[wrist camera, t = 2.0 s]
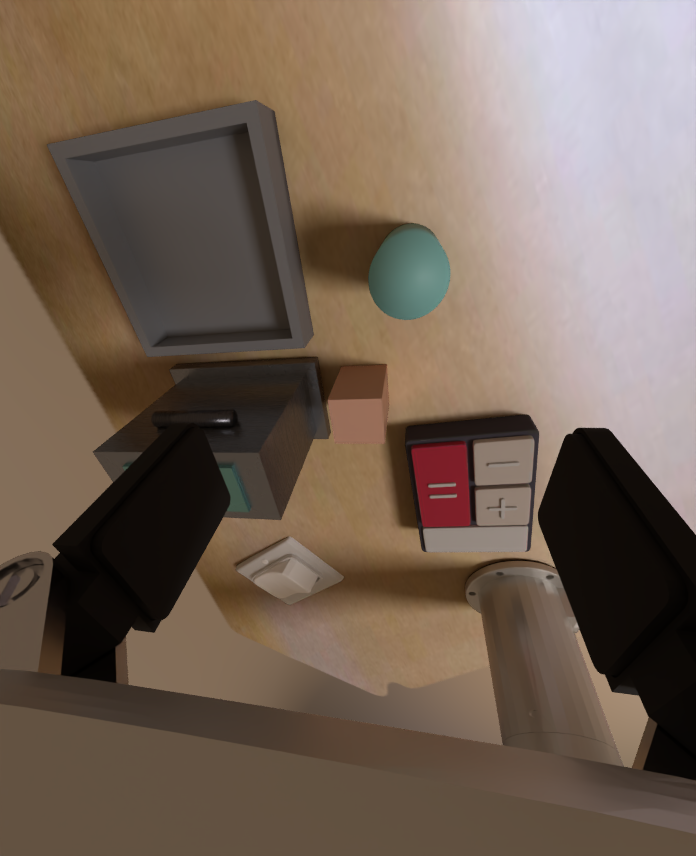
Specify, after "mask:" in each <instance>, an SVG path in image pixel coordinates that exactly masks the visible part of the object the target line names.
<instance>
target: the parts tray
mask: <svg viewBox="0 0 696 856" xmlns="http://www.w3.org/2000/svg"><path fill="white" fill-rule="evenodd" d="M47 146H48V148H49V150H50V153H51V155H52V157H53V159H54V161H55V163H56V165H57V167H58V169H59V172H60V174H61V176H62V178H63V180H64V182H65V184H66V186H67V188H68V191H69V193H70V195H71V197H72V199H73V201H74V203H75V205H76V207H77V210H78V212H79V214H80V216H81V218H82V220H83V222H84V224H85V227H86V229H87V231H88V233H89V235H90V237H91V239H92V241H93V243H94V246H95V248H96V250H97V252H98V254H99V256H100V258H101V260H102V262H103V265H104V267H105V269H106V271H107V273H108V275H109V277H110V279H111V281H112V284H113V286H114V288H115V290H116V292H117V294H118V296H119V298H120V300H121V303H122V305H123V307H124V309H125V311H126V313H127V315H128V317H129V319H130V322H131V324H132V326H133V328H134V330H135V332H136V334H137V336H138V339H139V341H140V343H141V345H142V347H143V349H144V351H145V353H146V355H147V357H155V356H173V355H190V354H208V353H225V352H242V351H260V350H277V349H295V348H305V347H306V345H307V344H308V342H309V341H310V339H311V338H312V337H313V335H314V334H313V328H312V322H311V316H310V311H309V305H308V299H307V294H306V288H305V282H304V277H303V271H302V265H301V260H300V254H299V248H298V243H297V237H296V231H295V225H294V220H293V214H292V208H291V203H290V197H289V191H288V186H287V180H286V174H285V169H284V163H283V157H282V152H281V146H280V140H279V135H278V129H277V123H276V117H275V112H274V111H273V110H271V109H270V108H268V107H267V106H265V105H263V104H262V103H260V102H258V101H257V100H254V101H250V102H245V103H240V104H235V105H231V106H226V107H221V108H217V109H212V110H207V111H202V112H198V113H193V114H188V115H184V116H179V117H174V118H169V119H165V120H160V121H155V122H151V123H146V124H141V125H136V126H132V127H127V128H122V129H117V130H113V131H108V132H103V133H99V134H94V135H89V136H84V137H80V138H75V139H70V140H66V141H61V142H56V143H51V144H47Z"/></svg>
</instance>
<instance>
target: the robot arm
mask: <svg viewBox="0 0 696 856" xmlns="http://www.w3.org/2000/svg"><path fill="white" fill-rule="evenodd" d="M230 500H231V497H230V493H229V491H228V488H227V486H226V483H225V481H224V478H223V476H222V474H221V471H220V469H219V466H218V464H217V461H216V459H215V457H214V454H213V452H212V449H211V447H210V445H209V442H208V440H207V437H206V435H205V433H204V431H203V430H202V429H200V428H199V427H198V426H197V425H196V424H194V423H172V424H171V425H170V426H169V427H168V428H167V429H166V430H165V431H164V432H163V433H162V434H161V435H160V436H159V437H158V438H157V439H156V440H155V441H154V442H153V443H152V444H151V445H150V446H149V447H148V448H147V449H146V450H145V451H144V452H143V453H142V454H141V455H140V456H139V457H138V458H137V459H136V460H135V461H134V462H133V463H132V464H131V465H130V466H129V467H128V468H127V469H126V470H125V471H124V472H123V473H122V474H121V475H120V476H119V477H118V478H117V479H116V480H115V481H114V482H113V483H112V484H111V485H110V486H109V488H107V490H105V492H104V493H102V494H101V496H100V497H98V499H97V500H96V501H95V502H94V503H93V504H92V505H91V506H90V507H89V508H88V509H87V510H86V511H85V512H84V513H83V514H82V515H81V516H80V517H79V518H78V519H77V520H76V521H75V522H74V523H73V524H72V525H71V526H70V527H69V528H68V529H67V530H66V531H65V532H64V533H63V534H62V535H61V536H60V537H59V538H58V539H57V540H56V541H55V542H54V543H53V546H54V547H55V548H56V549H57V550H58V551H59V552H60V554H59V555H58V556H57V557H56V558H55V559H53V558H52V557H51V556H50V555H49V554H48V553H45V552H41V551H38V552H30V553H27V554H23V555H20V556H17V557H15V558H13V559H11V560H10V561H7V562H5V563H3V564H2V565H0V856H696V535H695V533H694V532H693V531H692V530H691V529H690V527H689V526H688V525H687V524H686V522H685V521H684V520H683V519H682V518H681V516H680V515H679V514H678V513H677V511H676V510H675V509H674V508H673V507H672V505H671V504H670V503H669V502H668V500H667V499H666V498H665V497H664V496H663V494H662V493H661V492H660V491H659V489H658V488H657V487H656V486H655V485H654V483H653V482H652V481H651V480H650V478H649V477H648V476H647V475H646V474H645V472H644V471H643V470H642V469H641V467H640V466H639V465H638V464H637V463H636V461H635V460H634V459H633V458H632V456H631V455H630V454H629V453H628V452H627V450H626V449H625V448H624V447H623V445H622V444H621V443H620V442H619V441H618V439H617V438H616V437H615V436H614V434H613V433H612V432H611V431H610V430H609V429H606V428H577V429H576V430H575V431H574V432H573V434H567V435H566V436H565V438H564V441H563V443H562V446H561V449H560V452H559V455H558V457H557V460H556V463H555V466H554V468H553V471H552V474H551V477H550V480H549V482H548V485H547V488H546V491H545V494H544V496H543V499H542V502H541V505H540V508H539V511H538V521H539V525H540V528H541V530H542V533H543V535H544V538H545V541H546V543H547V546H548V548H549V551H550V554H551V556H552V559H553V561H554V564H555V567H556V569H555V568H553V567H550V566H548V565H544V564H541V563H536V562H531V561H506V562H500V563H495V564H492V565H488V566H486V567H484V568H481V569H480V570H478V571H477V572H475V573H474V574H473V575H472V576H471V577H469V579H468V581H467V582H466V585H465V593H466V599H467V601H468V603H469V604H470V606H471V607H472V608H473V609H475V610H476V611H477V612H479V613H481V616H482V622H483V628H484V634H485V640H486V646H487V652H488V658H489V664H490V671H491V677H492V683H493V689H494V695H495V701H496V706H497V713H498V718H499V725H500V731H501V737H502V743H503V745H497V744H491V743H485V742H479V741H473V740H467V739H461V738H455V737H449V736H443V735H437V734H430V733H425V732H419V731H413V730H407V729H401V728H395V727H388V726H383V725H377V724H370V723H364V722H358V721H352V720H346V719H339V718H333V717H327V716H321V715H315V714H308V713H302V712H296V711H290V710H284V709H277V708H271V707H265V706H258V705H252V704H246V703H240V702H234V701H227V700H221V699H215V698H208V697H202V696H195V695H189V694H183V693H176V692H170V691H164V690H157V689H151V688H144V687H138V686H132V685H129V684H128V666H127V648H126V635H127V633H128V631H129V630H130V628H131V627H132V628H133V629H134V630H138V631H146V632H153V633H154V632H155V631H156V629H157V627H158V625H159V623H160V621H161V620H163V619H165V618H166V617H167V616H168V615H169V613H170V612H171V610H172V608H173V607H174V605H175V603H176V601H177V599H178V598H179V596H180V594H181V592H182V590H183V589H184V587H185V585H186V583H187V581H188V580H189V578H190V576H191V574H192V572H193V570H194V569H195V567H196V565H197V563H198V562H199V560H200V558H201V556H202V554H203V553H204V551H205V549H206V547H207V545H208V544H209V542H210V540H211V538H212V536H213V535H214V533H215V531H216V529H217V527H218V526H219V524H220V522H221V520H222V518H223V517H224V515H225V513H226V511H227V509H228V508H229V505H230ZM578 630H580V632H581V634H582V637H583V639H584V642H585V644H586V647H587V650H588V652H589V655H590V657H591V660H592V662H593V664H594V667H595V668H596V669H597V671H598V672H599V673H600V674H605V676H606V678H607V681H608V683H609V686H610V688H611V691H612V692H616V693H624V694H631V695H639V696H640V698H641V701H642V703H643V706H644V708H645V710H646V712H647V714H648V716H649V718H648V722H647V725H646V727H645V731H644V733H643V736H642V739H641V742H640V745H639V748H638V751H637V754H636V757H635V760H634V763H633V766H632V768H628V767H624V766H623V763H622V760H621V757H620V755H619V752H618V750H617V747H616V744H615V742H614V739H613V736H612V733H611V731H610V728H609V726H608V723H607V720H606V717H605V714H604V712H603V709H602V706H601V704H600V701H599V698H598V696H597V693H596V690H595V687H594V685H593V682H592V680H591V677H590V674H589V672H588V669H587V666H586V663H585V661H584V658H583V655H582V652H581V650H580V647H579V644H578V642H577V639H576V636H575V634H574V633H577V632H578Z"/></svg>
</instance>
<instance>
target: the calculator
mask: <svg viewBox="0 0 696 856" xmlns="http://www.w3.org/2000/svg"><path fill="white" fill-rule="evenodd" d="M538 442H539V431H538V429H537V428H536V426H535V424H534V422H533V421H532V419H531V417H530V416H529V415H515V416H505V417H495V418H485V419H475V420H465V421H455V422H444V423H434V424H424V425H414V426H408V427H407V428H406V435H405V447H406V453H407V460H408V466H409V472H410V478H411V485H412V491H413V497H414V504H415V510H416V516H417V523H418V529H419V535H420V541H421V548H422V550H423V551H424V552H526V551H529V550H530V548H531V535H532V522H533V508H534V495H535V482H536V469H537V455H538Z"/></svg>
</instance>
